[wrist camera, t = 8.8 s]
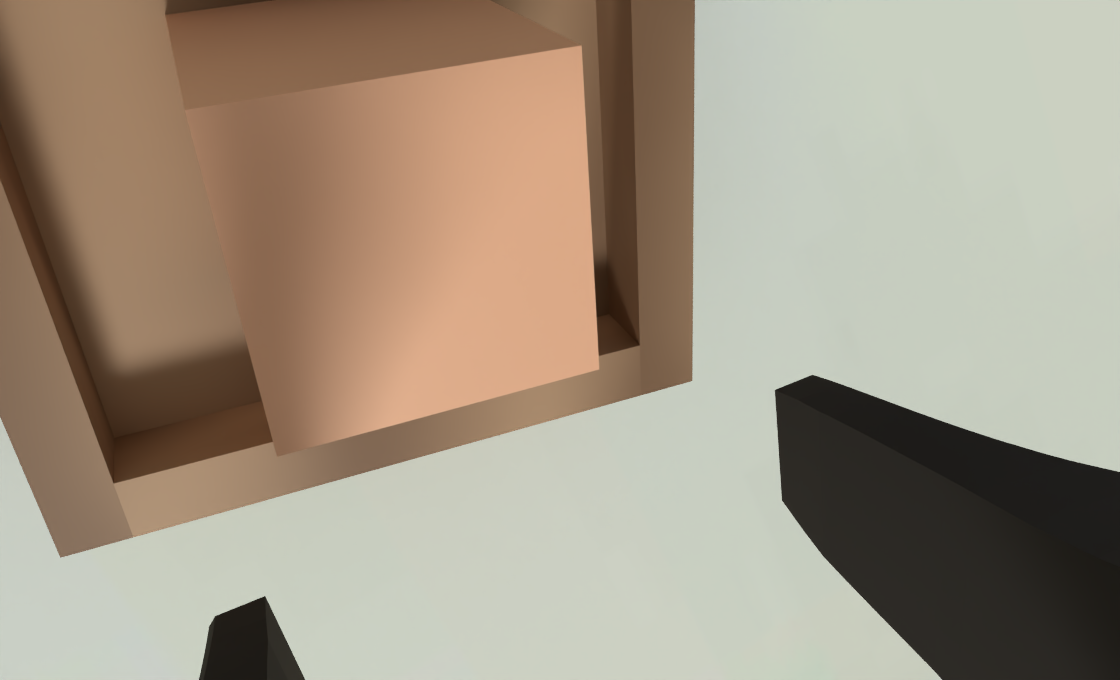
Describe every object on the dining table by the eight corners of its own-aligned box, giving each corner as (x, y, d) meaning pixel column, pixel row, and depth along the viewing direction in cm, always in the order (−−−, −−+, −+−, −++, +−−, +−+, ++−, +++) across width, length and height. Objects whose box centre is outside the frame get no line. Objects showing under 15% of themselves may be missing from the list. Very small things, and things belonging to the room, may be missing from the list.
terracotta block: (443, -23, 16) (582, 44, 11) (473, 223, 18) (599, 369, 14) (165, 14, 15) (185, 109, 10) (233, 275, 17) (277, 456, 12)
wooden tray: (600, -305, 17) (696, -328, 14) (622, 311, 23) (692, 381, 20) (-212, -269, 13) (-303, -293, 11) (70, 449, 20) (59, 557, 17)
